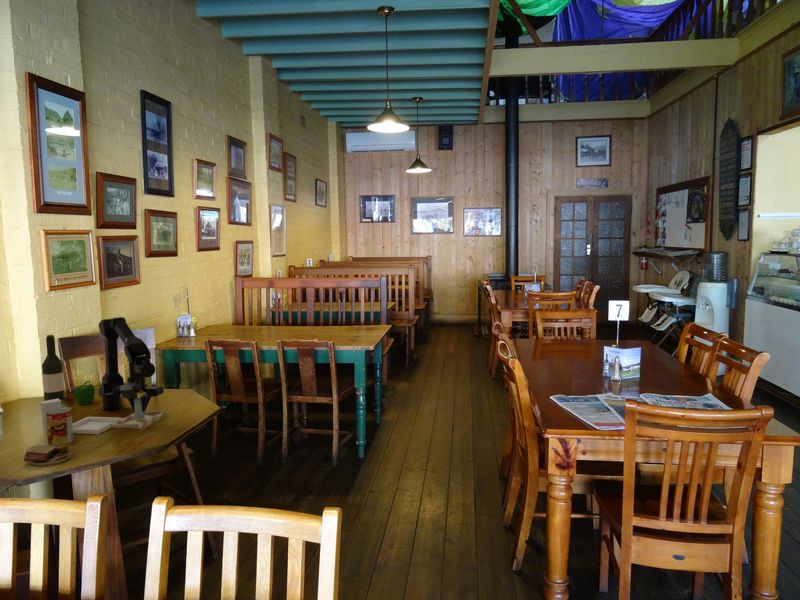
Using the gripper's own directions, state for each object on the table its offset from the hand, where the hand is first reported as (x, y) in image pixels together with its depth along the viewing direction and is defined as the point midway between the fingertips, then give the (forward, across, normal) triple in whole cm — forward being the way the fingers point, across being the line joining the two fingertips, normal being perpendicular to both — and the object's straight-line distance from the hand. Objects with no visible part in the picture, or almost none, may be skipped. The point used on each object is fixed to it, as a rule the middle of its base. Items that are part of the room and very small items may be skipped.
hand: (139, 411), depth 227 cm
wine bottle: (+4, -60, +28) cm, 66 cm away
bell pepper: (+4, -41, +23) cm, 47 cm away
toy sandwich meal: (+5, -7, -41) cm, 41 cm away
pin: (+2, 0, 0) cm, 3 cm away
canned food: (+4, -15, -25) cm, 29 cm away
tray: (+4, 0, 0) cm, 4 cm away
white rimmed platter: (+4, -14, -9) cm, 17 cm away
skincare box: (+4, -27, -14) cm, 31 cm away
